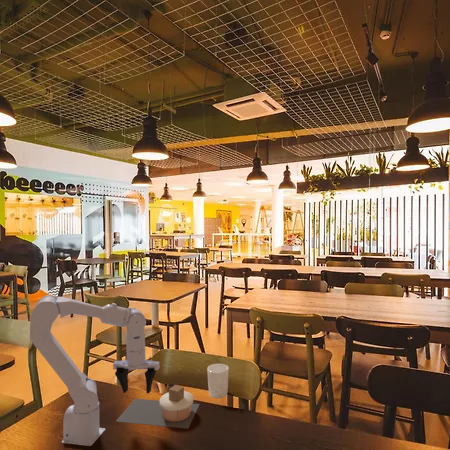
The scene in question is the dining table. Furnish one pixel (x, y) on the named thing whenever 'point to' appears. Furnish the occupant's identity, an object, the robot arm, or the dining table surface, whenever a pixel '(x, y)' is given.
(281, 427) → the dining table surface
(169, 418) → the bowl
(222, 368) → the white cup
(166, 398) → the lid
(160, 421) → the mat
